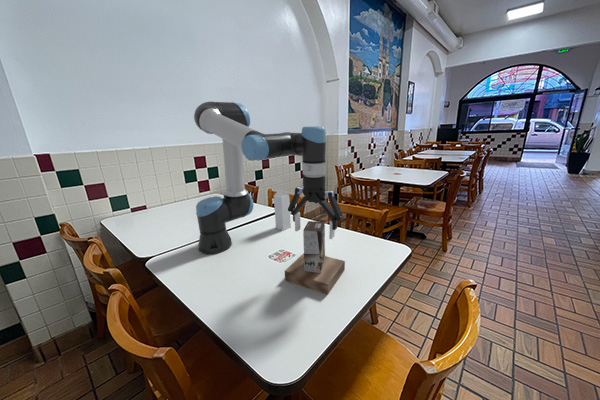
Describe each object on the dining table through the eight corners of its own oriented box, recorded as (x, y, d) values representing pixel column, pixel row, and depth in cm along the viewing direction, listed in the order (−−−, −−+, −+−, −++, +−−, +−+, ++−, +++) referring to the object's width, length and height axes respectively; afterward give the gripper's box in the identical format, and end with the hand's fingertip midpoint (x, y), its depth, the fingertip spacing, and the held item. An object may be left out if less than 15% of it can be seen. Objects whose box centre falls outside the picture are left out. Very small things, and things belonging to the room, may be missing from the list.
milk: (283, 230, 131) (280, 191, 124) (275, 228, 135) (272, 189, 128) (291, 227, 135) (289, 189, 129) (283, 224, 139) (281, 187, 133)
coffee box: (321, 273, 85) (321, 231, 80) (303, 271, 87) (302, 230, 82) (325, 260, 94) (325, 221, 89) (309, 258, 95) (308, 220, 90)
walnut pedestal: (285, 280, 89) (284, 270, 88) (306, 259, 102) (305, 251, 101) (327, 294, 80) (327, 284, 79) (344, 270, 94) (344, 261, 92)
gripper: (276, 174, 83) (279, 230, 89) (346, 181, 71) (343, 245, 77) (288, 170, 89) (290, 223, 96) (354, 176, 77) (351, 236, 84)
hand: (314, 233), depth 86 cm, fingers open, 13 cm apart
